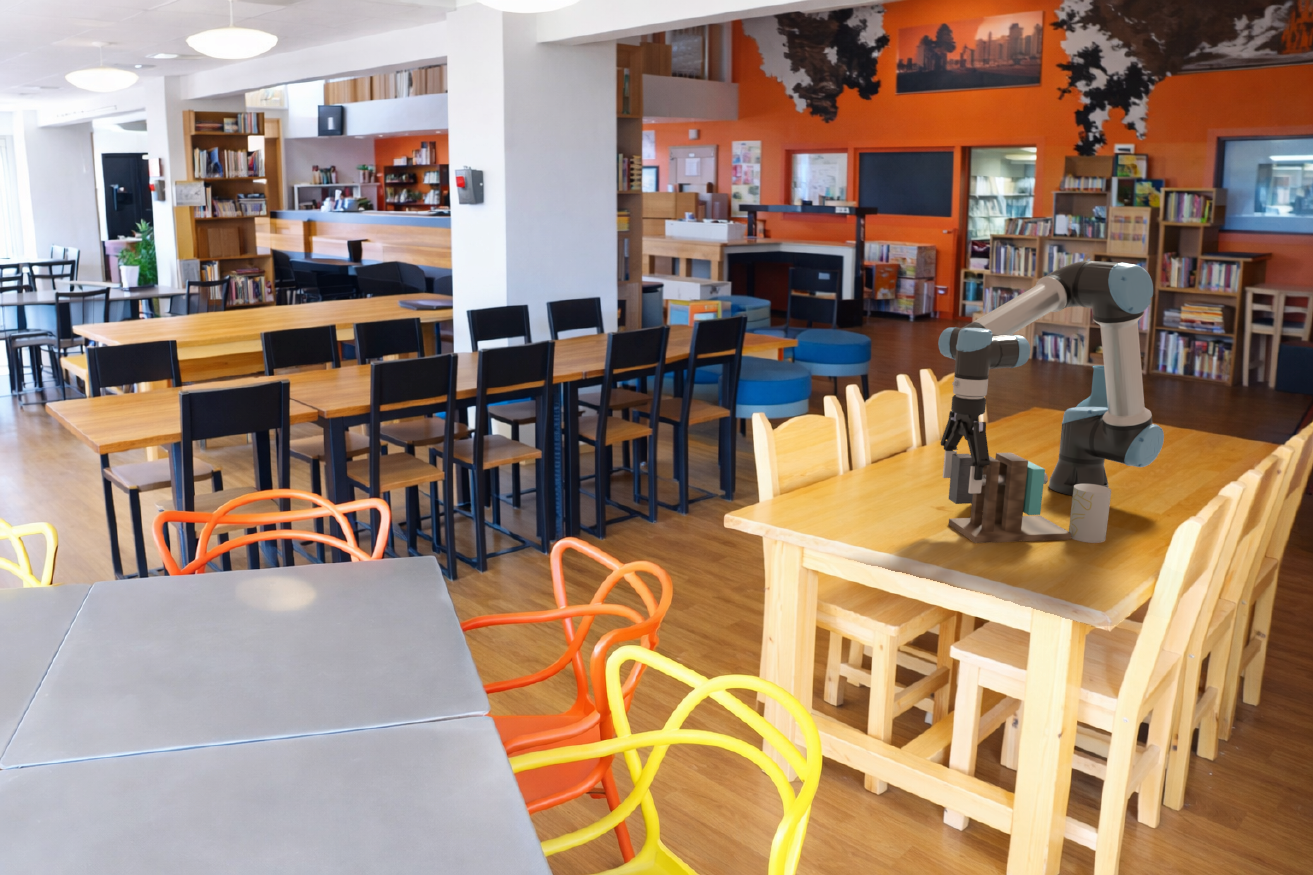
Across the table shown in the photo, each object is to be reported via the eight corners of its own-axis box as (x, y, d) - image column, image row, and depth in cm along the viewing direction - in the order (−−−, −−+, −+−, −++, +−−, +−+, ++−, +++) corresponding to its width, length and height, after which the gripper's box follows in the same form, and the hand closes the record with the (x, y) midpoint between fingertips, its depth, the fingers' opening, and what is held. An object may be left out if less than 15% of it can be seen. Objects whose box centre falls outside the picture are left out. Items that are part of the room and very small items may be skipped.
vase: (1130, 447, 338) (1140, 371, 333) (1079, 446, 339) (1088, 370, 333) (1109, 436, 355) (1118, 363, 349) (1061, 435, 355) (1069, 362, 349)
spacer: (1016, 501, 253) (1021, 457, 251) (1040, 514, 243) (1045, 469, 240) (1005, 501, 253) (1009, 457, 250) (1028, 515, 242) (1033, 469, 240)
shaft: (1038, 496, 250) (1043, 451, 248) (1047, 501, 246) (1052, 455, 244) (948, 499, 246) (952, 454, 244) (956, 503, 243) (959, 458, 240)
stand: (1039, 521, 257) (1047, 448, 253) (1070, 539, 244) (1079, 462, 240) (948, 524, 253) (954, 450, 249) (974, 543, 240) (982, 465, 236)
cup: (1062, 531, 249) (1067, 483, 247) (1094, 531, 250) (1100, 483, 247) (1078, 542, 242) (1084, 493, 239) (1112, 542, 242) (1118, 493, 240)
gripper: (931, 386, 250) (924, 471, 255) (979, 406, 227) (970, 500, 231) (960, 386, 252) (952, 471, 256) (1011, 406, 228) (1001, 499, 232)
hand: (961, 485), depth 244 cm, fingers open, 13 cm apart
